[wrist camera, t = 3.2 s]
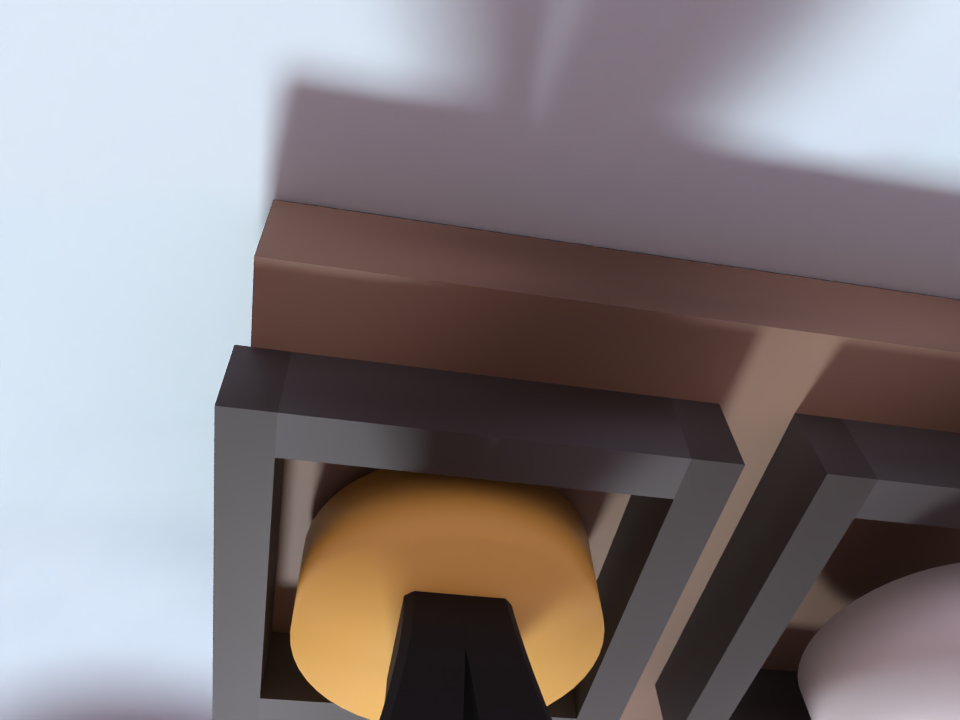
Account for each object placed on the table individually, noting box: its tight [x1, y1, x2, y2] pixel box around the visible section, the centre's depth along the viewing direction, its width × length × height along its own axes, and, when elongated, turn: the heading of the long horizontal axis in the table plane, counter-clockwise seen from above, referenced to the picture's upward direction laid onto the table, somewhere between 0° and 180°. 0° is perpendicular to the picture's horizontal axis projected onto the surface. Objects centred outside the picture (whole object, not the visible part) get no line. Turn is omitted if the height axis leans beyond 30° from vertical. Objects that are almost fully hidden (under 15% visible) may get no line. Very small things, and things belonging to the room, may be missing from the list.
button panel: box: [213, 200, 960, 720], centre depth 14 cm, size 21×9×3 cm, turn 80°
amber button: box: [290, 469, 604, 720], centre depth 12 cm, size 4×4×1 cm
